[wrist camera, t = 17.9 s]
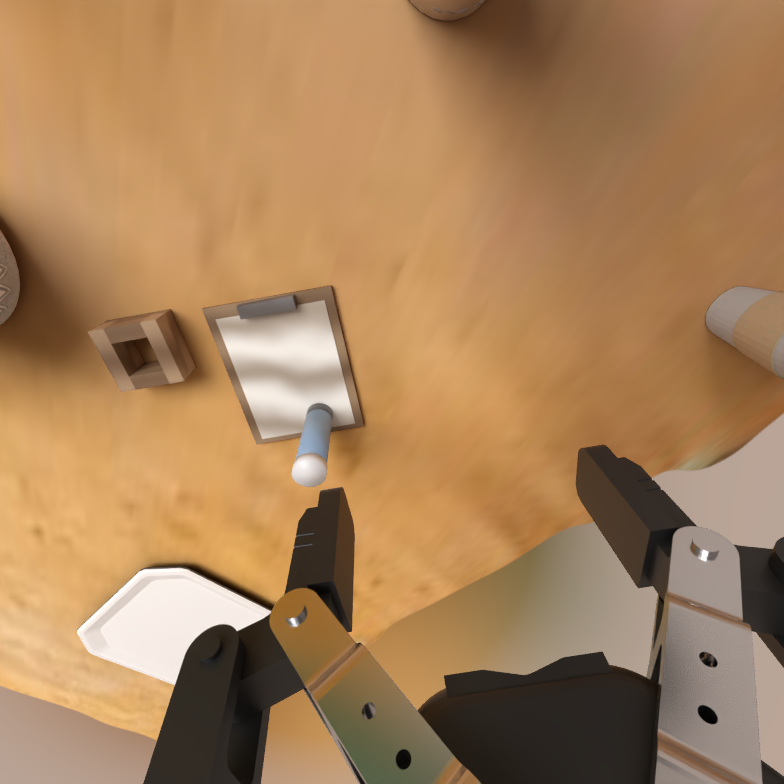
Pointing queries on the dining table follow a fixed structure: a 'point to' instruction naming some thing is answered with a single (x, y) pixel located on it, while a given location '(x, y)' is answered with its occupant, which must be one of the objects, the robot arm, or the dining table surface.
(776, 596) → the robot arm
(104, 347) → the pen block
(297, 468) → the marker
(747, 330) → the coffee cup
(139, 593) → the plate
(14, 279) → the planter
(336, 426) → the clipboard
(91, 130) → the dining table surface
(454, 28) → the dining table surface
